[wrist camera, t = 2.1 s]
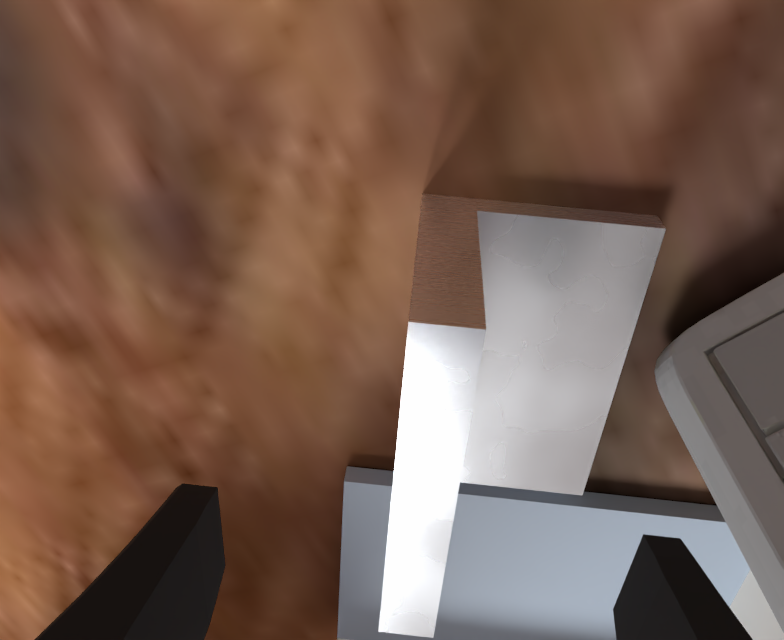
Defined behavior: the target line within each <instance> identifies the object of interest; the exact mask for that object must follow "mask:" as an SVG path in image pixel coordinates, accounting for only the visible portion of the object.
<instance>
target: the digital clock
mask: <svg viewBox="0 0 784 640" xmlns="http://www.w3.org/2000/svg"><path fill="white" fill-rule="evenodd" d="M655 377H656V383H657V386H658V390H659V393H660V395H661V397H662V399H663V401H664V404H665V406H666V408H667V410H668V412H669V414H670V416H671V418H672V420H673V422H674V424H675V426H676V427H677V429H678V431H679V433H680V435H681V437H682V439H683V441H684V443H685V445H686V447H687V449H688V450H689V452H690V454H691V456H692V458H693V460H694V462H695V464H696V466H697V468H698V470H699V472H700V474H701V475H702V477H703V479H704V481H705V483H706V485H707V487H708V489H709V491H710V493H711V495H712V497H713V498H714V500H715V502H716V504H717V506H718V508H719V510H720V512H721V514H722V516H723V518H724V520H725V522H726V523H727V525H728V527H729V529H730V531H731V533H732V535H733V537H734V539H735V541H736V543H737V545H738V546H739V548H740V550H741V552H742V554H743V556H744V558H745V560H746V562H747V564H748V566H749V568H750V570H751V571H752V573H753V575H754V577H755V579H756V581H757V583H758V585H759V587H760V589H761V591H762V593H763V595H764V596H765V598H766V600H767V602H768V604H769V606H770V608H771V610H772V612H773V614H774V616H775V618H776V619H777V621H778V623H779V625H780V627H781V629H782V631H783V633H784V272H783V273H782V274H781V275H779V276H777V277H776V278H774V279H772V280H770V281H768V282H767V283H765V284H763V285H761V286H759V287H758V288H756V289H754V290H752V291H750V292H749V293H747V294H745V295H743V296H742V297H740V298H738V299H736V300H735V301H733V302H731V303H730V304H728V305H726V306H724V307H723V308H721V309H719V310H718V311H716V312H714V313H712V314H711V315H709V316H707V317H706V318H704V319H702V320H701V321H699V322H698V323H696V324H695V325H693V326H691V327H690V328H688V329H687V330H686V331H684V332H683V333H682V334H681V335H680V336H678V337H677V338H676V339H675V340H674V341H673V342H672V343H670V344H669V345H668V346H667V347H666V348H665V349H664V350H663V352H662V353H661V355H660V356H659V357H658V359H657V362H656V367H655Z"/></svg>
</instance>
